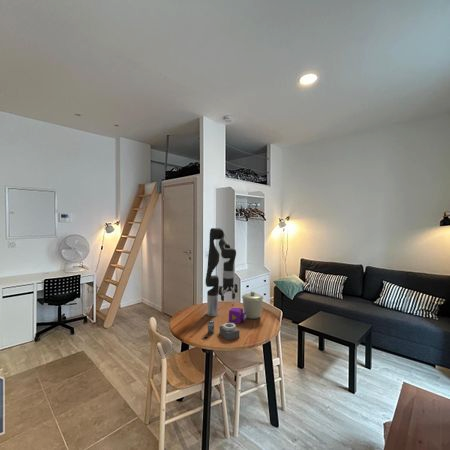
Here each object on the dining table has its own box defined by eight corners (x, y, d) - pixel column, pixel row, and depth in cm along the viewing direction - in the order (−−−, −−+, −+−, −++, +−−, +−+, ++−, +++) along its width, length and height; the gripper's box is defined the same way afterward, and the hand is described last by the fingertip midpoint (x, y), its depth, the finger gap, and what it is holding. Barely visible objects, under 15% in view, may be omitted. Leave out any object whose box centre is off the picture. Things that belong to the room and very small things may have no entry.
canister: (261, 312, 212) (261, 288, 212) (265, 320, 194) (265, 294, 194) (240, 312, 212) (240, 288, 212) (242, 320, 194) (242, 294, 194)
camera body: (219, 333, 172) (219, 323, 171) (230, 330, 176) (230, 321, 176) (227, 340, 161) (227, 329, 161) (239, 337, 165) (239, 327, 165)
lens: (206, 332, 172) (206, 321, 172) (212, 331, 175) (212, 319, 175) (209, 335, 168) (209, 323, 168) (215, 333, 171) (215, 322, 171)
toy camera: (245, 324, 186) (245, 311, 186) (228, 323, 189) (228, 310, 189) (247, 319, 197) (247, 307, 197) (230, 318, 199) (230, 305, 199)
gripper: (234, 274, 176) (233, 296, 176) (216, 276, 169) (216, 299, 169) (239, 276, 169) (239, 299, 170) (222, 279, 162) (221, 303, 163)
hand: (228, 299), depth 169 cm, fingers open, 8 cm apart
